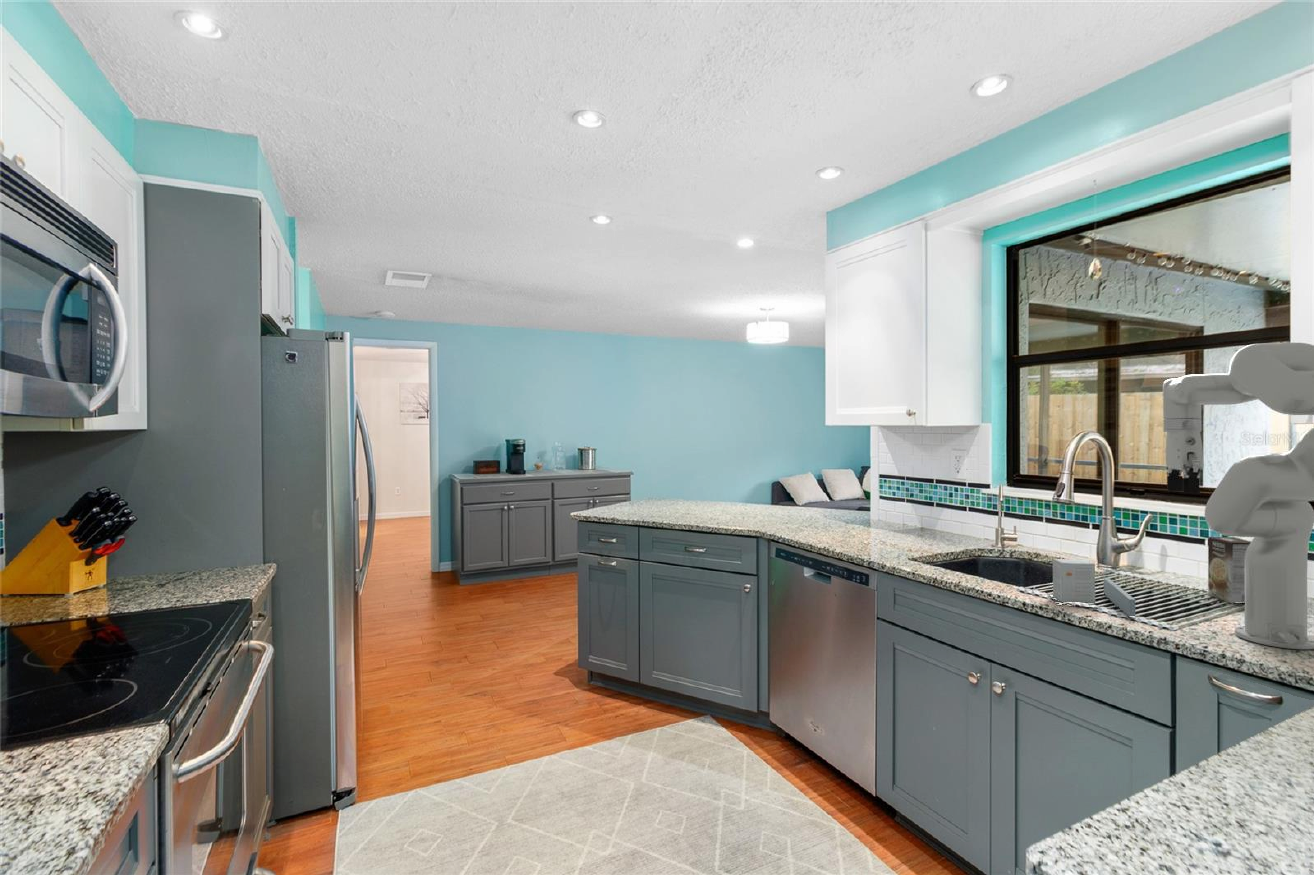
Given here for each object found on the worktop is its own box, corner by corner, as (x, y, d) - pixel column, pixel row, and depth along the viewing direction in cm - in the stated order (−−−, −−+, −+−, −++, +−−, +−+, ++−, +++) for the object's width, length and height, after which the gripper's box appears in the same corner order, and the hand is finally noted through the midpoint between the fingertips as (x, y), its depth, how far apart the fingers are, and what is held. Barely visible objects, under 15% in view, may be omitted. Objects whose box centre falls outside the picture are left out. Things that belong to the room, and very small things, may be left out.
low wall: (1135, 618, 149) (1135, 599, 149) (1129, 617, 149) (1129, 599, 149) (1109, 594, 171) (1108, 578, 171) (1103, 594, 171) (1103, 577, 171)
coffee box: (1206, 594, 170) (1206, 536, 170) (1233, 595, 169) (1233, 536, 169) (1231, 603, 161) (1230, 541, 161) (1259, 604, 160) (1259, 542, 160)
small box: (1085, 598, 166) (1085, 559, 166) (1095, 604, 160) (1095, 563, 160) (1052, 597, 167) (1052, 558, 167) (1061, 602, 162) (1061, 562, 162)
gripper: (1216, 425, 151) (1217, 495, 151) (1185, 426, 167) (1186, 490, 167) (1178, 425, 153) (1178, 494, 153) (1151, 426, 170) (1152, 489, 170)
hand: (1182, 492), depth 160 cm, fingers open, 9 cm apart
